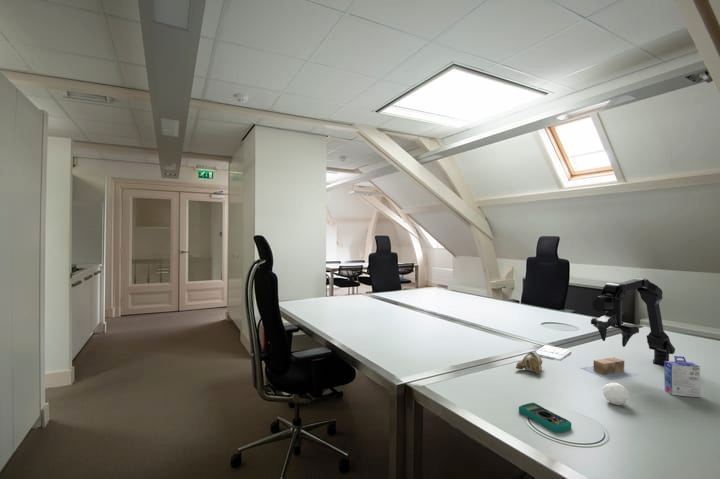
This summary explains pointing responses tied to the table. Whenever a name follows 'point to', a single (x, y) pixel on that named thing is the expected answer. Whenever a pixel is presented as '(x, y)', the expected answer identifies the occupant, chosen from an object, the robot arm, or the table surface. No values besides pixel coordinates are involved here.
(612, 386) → the geometric ball
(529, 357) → the ceramic sculpture
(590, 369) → the desk pad
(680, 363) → the ink cartridge box
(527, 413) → the digital multimeter
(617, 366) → the walnut block
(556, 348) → the calculator
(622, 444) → the table surface
